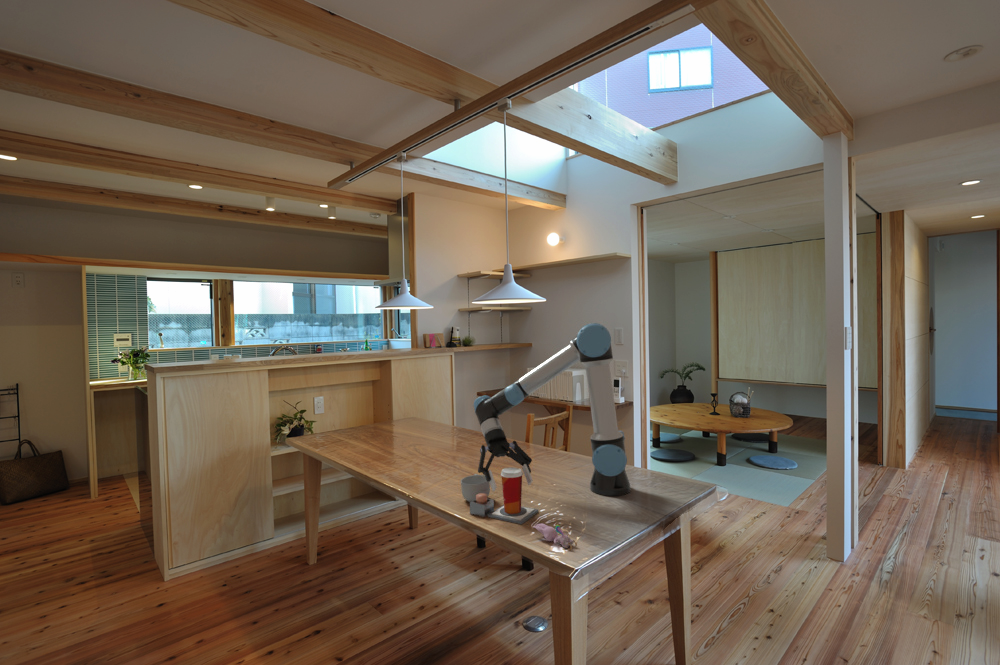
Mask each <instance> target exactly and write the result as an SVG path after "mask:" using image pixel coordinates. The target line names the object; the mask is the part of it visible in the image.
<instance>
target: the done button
mask: <svg viewBox="0 0 1000 665" xmlns="http://www.w3.org/2000/svg"><path fill="white" fill-rule="evenodd" d="M487 498H488V497H487V494H484V493H480V494H477V495H476V503H480V504H485V503H487Z"/></svg>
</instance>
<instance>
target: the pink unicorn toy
mask: <svg viewBox="0 0 1000 665" xmlns="http://www.w3.org/2000/svg"><path fill="white" fill-rule="evenodd" d="M532 528H535V530H537V531H538V532H539V533H540V534H542V535H543V537H544V539H545V540H546V541H548V542H550V541H551V543H553V542H554V544H557V543H558V544H560V545H561V546H562V548H563V547H564V548H563V549H565V548H567V549H568V548H569V547H570V548H569V551H572V550H573V544H574V546H575V548H577V547H578V541H575V540H574V539H573V540H572V539H571V538H570V537H569V535H568V534H565V533H564V532H563V530H562V529H561V525H559V524H556V525H555V528H554V527H553V526H549V525H547V524H545V523H538V524H535V525H533V526H532ZM552 541H553V542H552Z"/></svg>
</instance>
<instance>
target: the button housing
mask: <svg viewBox="0 0 1000 665" xmlns="http://www.w3.org/2000/svg"><path fill="white" fill-rule="evenodd" d="M494 501H495V500H494V499H492V498H488V497H487V503H485V504H480V503H476V499H475V500H473V501H471V502H469V515H473V514H474V516H477V515H479V516H478V517H481V518H482V517H483V518H485V516H486V517H488V514H490V513H491V512H493V511H494V510H495V502H494Z"/></svg>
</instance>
